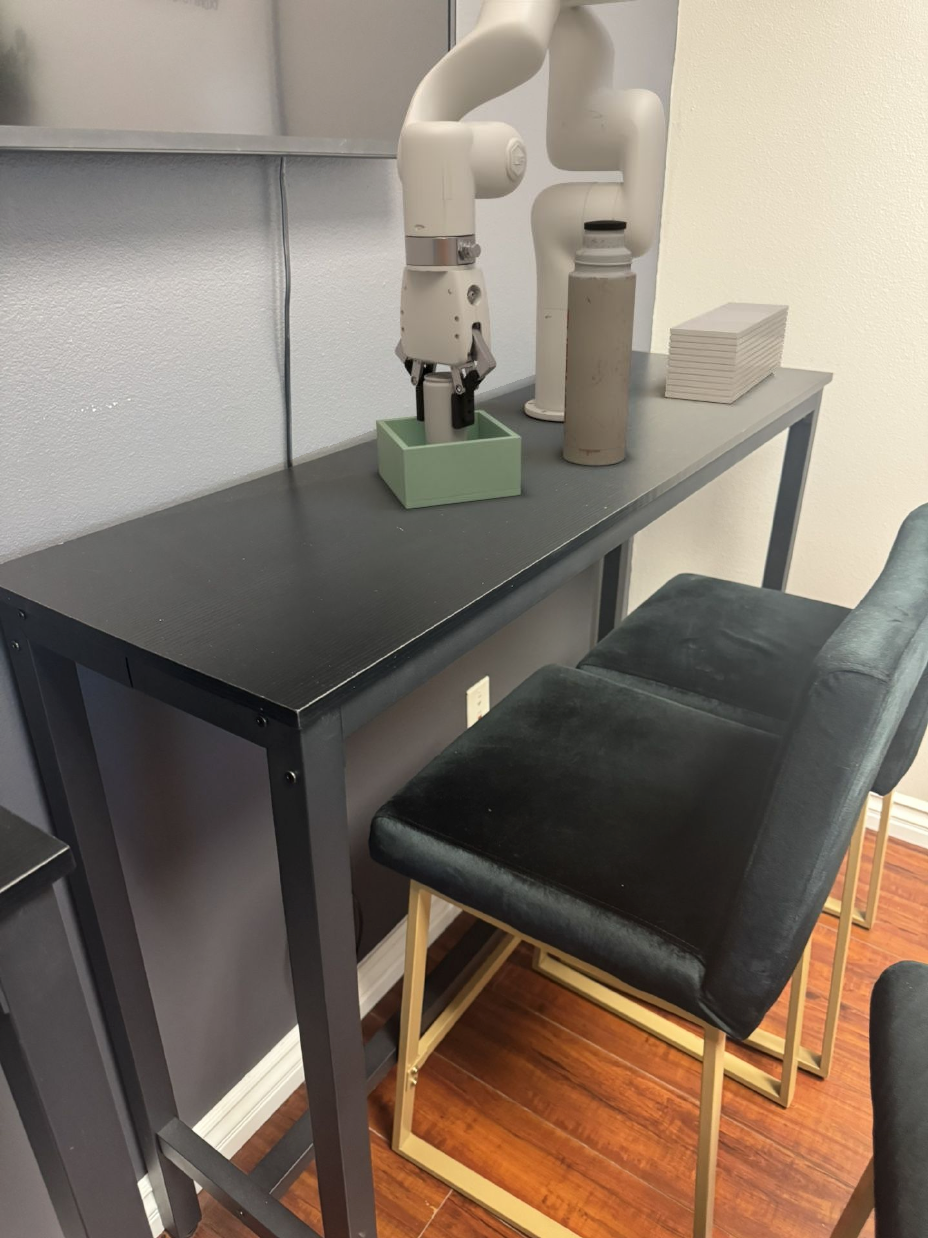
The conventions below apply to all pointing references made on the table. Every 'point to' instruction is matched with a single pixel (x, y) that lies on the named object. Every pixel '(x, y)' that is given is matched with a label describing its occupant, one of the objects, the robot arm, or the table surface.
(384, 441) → the open box
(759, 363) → the stack of papers
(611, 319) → the thermos bottle
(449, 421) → the beverage can
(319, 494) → the table surface
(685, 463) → the table surface
